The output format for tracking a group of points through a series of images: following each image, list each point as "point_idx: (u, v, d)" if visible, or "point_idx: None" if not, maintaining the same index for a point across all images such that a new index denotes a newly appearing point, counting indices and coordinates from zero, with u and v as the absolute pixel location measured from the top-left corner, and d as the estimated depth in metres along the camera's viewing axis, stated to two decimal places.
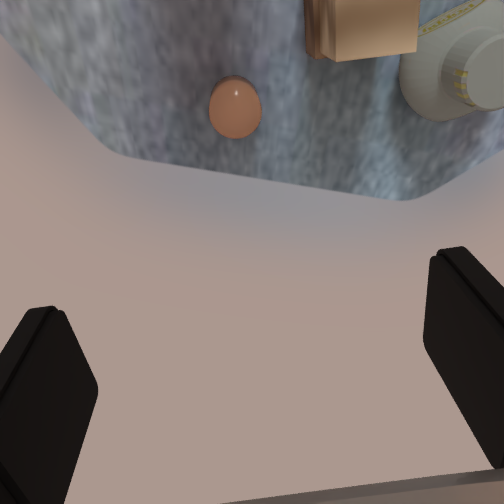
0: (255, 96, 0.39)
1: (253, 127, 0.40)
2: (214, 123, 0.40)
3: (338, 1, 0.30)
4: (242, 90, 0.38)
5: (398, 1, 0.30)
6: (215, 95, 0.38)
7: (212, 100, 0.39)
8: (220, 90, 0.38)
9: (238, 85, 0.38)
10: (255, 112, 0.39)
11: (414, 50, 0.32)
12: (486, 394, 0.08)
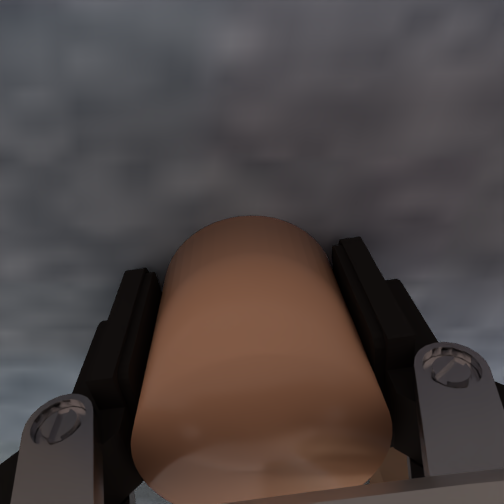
0: None
1: None
2: (204, 375, 0.07)
3: None
4: (360, 466, 0.08)
5: None
6: (353, 378, 0.07)
7: (330, 366, 0.07)
8: (374, 396, 0.07)
9: (382, 452, 0.08)
10: None
11: None
12: None
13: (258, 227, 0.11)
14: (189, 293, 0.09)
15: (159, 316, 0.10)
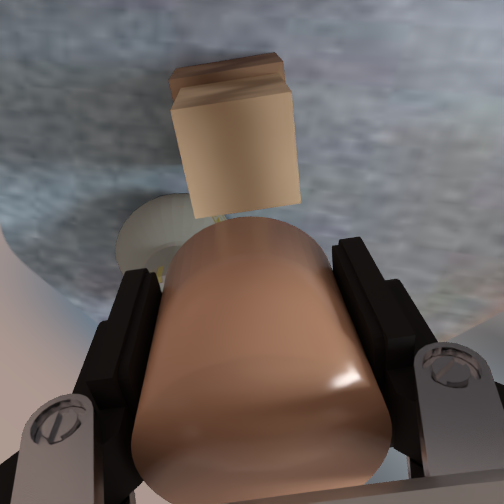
0: None
1: None
2: (205, 376, 0.07)
3: (249, 102, 0.21)
4: (359, 467, 0.08)
5: (251, 184, 0.23)
6: (353, 379, 0.07)
7: (329, 367, 0.07)
8: (374, 397, 0.07)
9: (382, 453, 0.08)
10: None
11: (196, 216, 0.24)
12: None
13: (258, 228, 0.11)
14: (190, 294, 0.09)
15: (159, 317, 0.10)
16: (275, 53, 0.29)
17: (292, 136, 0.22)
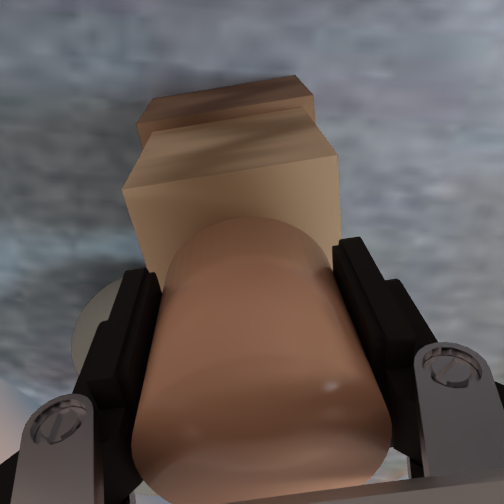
0: None
1: None
2: (205, 377, 0.07)
3: (262, 174, 0.12)
4: (360, 467, 0.08)
5: None
6: (353, 379, 0.07)
7: (330, 368, 0.07)
8: (374, 397, 0.07)
9: (382, 453, 0.08)
10: None
11: None
12: None
13: (258, 228, 0.11)
14: (190, 294, 0.09)
15: (159, 317, 0.10)
16: (296, 77, 0.20)
17: (336, 226, 0.13)
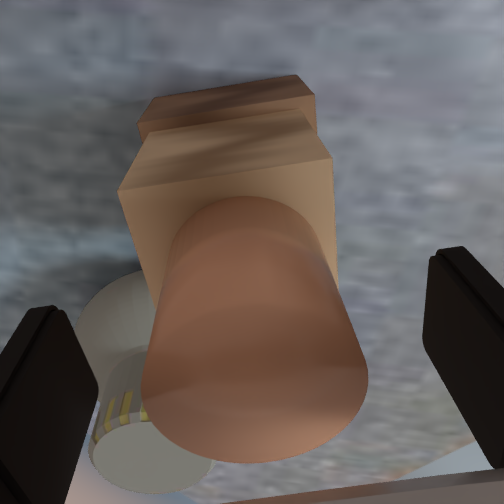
0: (312, 445, 0.10)
1: (194, 446, 0.10)
2: (206, 323, 0.08)
3: (257, 177, 0.12)
4: (340, 411, 0.10)
5: None
6: (333, 327, 0.08)
7: (313, 316, 0.08)
8: (352, 345, 0.09)
9: (360, 398, 0.10)
10: (254, 447, 0.10)
11: None
12: (484, 394, 0.08)
13: (253, 205, 0.12)
14: (192, 259, 0.10)
15: (164, 282, 0.11)
16: (297, 76, 0.20)
17: (330, 229, 0.13)
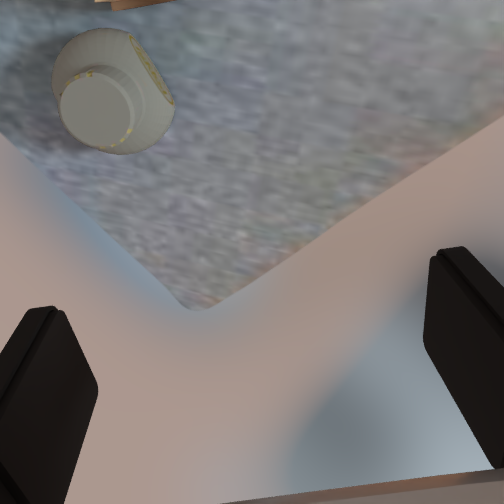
0: None
1: None
2: None
3: None
4: None
5: None
6: None
7: None
8: None
9: None
10: None
11: None
12: (485, 394, 0.08)
13: None
14: None
15: None
16: None
17: None
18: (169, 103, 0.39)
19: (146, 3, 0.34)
